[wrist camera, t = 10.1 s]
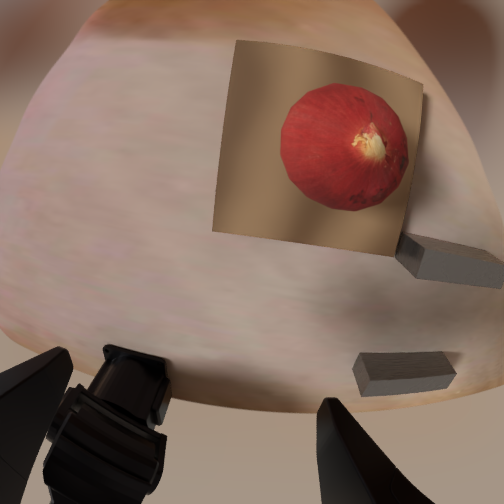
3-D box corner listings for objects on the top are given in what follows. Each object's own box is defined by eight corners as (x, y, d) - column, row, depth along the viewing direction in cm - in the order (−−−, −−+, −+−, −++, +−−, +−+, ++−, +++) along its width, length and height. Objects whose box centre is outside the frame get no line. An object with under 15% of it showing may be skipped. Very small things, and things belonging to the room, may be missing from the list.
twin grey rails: (352, 368, 22) (361, 396, 19) (402, 231, 18) (425, 248, 15) (433, 366, 22) (446, 388, 19) (485, 250, 18) (509, 266, 15)
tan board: (216, 224, 18) (212, 231, 17) (238, 48, 14) (236, 39, 13) (385, 249, 18) (393, 257, 17) (412, 87, 14) (423, 84, 13)
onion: (386, 128, 14) (470, 122, 7) (350, 211, 16) (411, 262, 9) (299, 84, 14) (329, 29, 6) (261, 172, 16) (258, 192, 8)
